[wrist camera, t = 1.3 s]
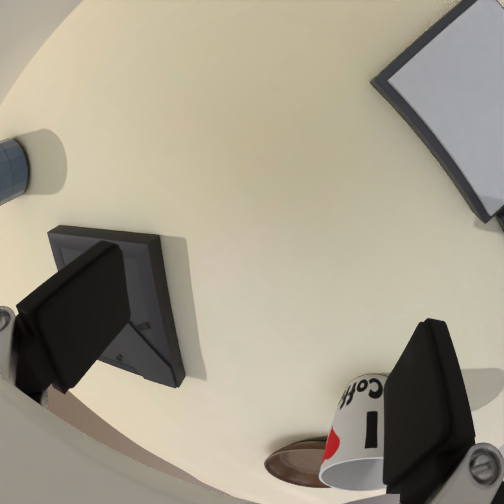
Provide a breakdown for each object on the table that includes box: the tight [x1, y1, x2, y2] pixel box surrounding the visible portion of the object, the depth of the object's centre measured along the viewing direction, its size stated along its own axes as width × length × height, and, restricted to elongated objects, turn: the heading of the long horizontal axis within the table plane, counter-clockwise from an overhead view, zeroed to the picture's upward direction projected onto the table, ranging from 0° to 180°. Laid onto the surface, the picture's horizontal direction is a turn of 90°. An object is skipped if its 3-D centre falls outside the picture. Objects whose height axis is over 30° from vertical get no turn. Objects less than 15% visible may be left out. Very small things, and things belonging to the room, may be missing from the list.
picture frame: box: [47, 225, 185, 388], centre depth 30 cm, size 13×2×18 cm
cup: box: [319, 374, 388, 491], centre depth 23 cm, size 8×8×10 cm
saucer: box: [264, 441, 333, 488], centre depth 35 cm, size 15×15×3 cm
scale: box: [370, 0, 504, 224], centre depth 13 cm, size 12×12×3 cm
